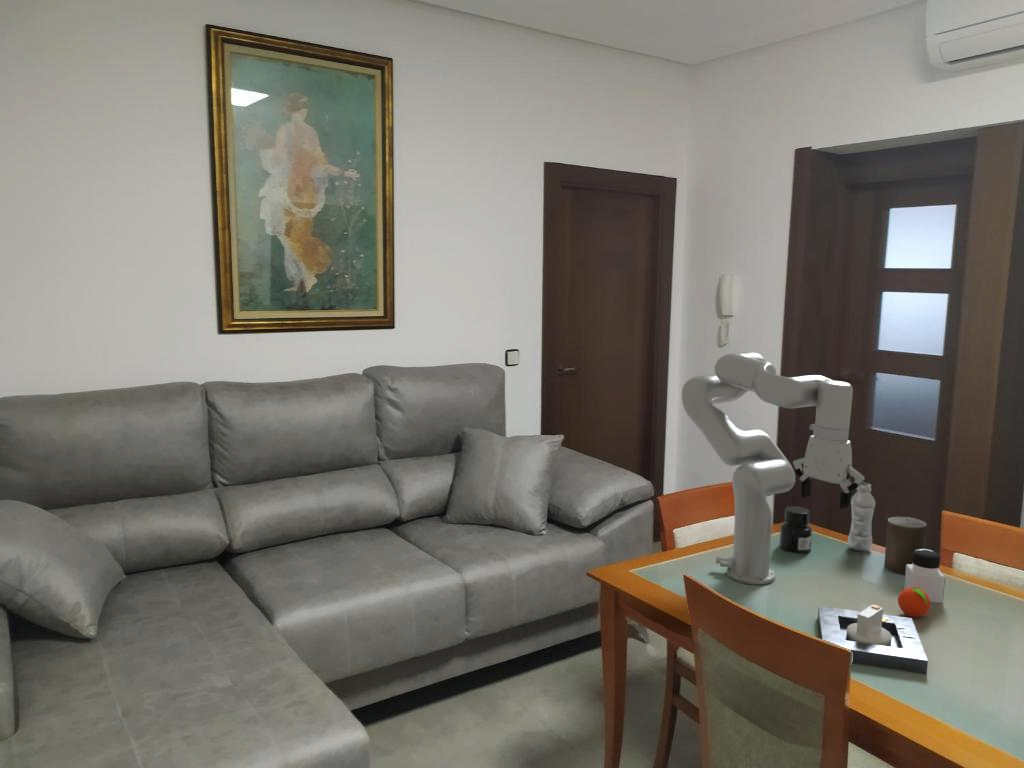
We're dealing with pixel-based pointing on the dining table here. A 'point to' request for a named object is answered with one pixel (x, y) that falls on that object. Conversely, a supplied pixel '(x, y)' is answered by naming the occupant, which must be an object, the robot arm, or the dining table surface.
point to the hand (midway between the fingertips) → (824, 501)
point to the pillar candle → (903, 542)
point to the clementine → (914, 602)
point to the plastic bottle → (861, 518)
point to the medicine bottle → (926, 574)
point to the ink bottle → (796, 530)
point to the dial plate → (897, 656)
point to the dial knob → (869, 628)
